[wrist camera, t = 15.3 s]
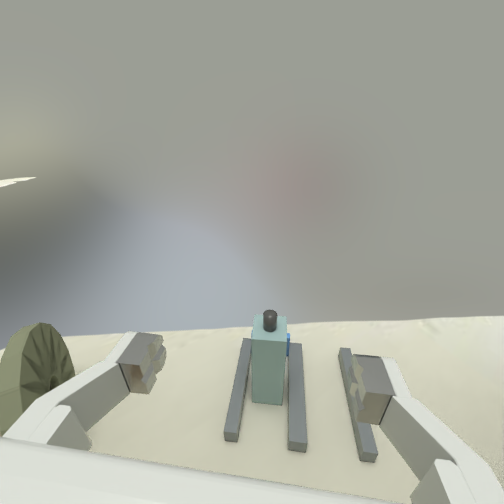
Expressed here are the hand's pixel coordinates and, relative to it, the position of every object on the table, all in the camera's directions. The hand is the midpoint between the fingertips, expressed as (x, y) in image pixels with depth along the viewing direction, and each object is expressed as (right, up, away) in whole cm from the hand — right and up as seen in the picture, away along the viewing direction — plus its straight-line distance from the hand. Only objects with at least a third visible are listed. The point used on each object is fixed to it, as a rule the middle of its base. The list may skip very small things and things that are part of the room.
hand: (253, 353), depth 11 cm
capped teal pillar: (+2, -15, +25) cm, 29 cm away
